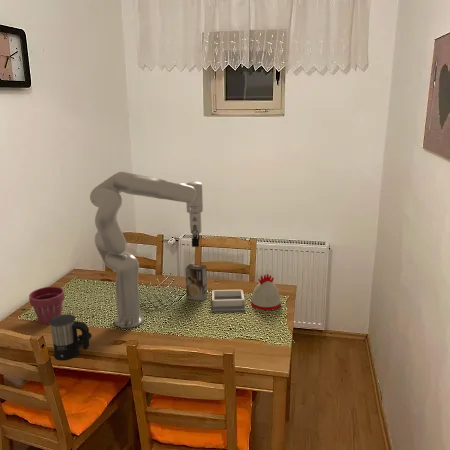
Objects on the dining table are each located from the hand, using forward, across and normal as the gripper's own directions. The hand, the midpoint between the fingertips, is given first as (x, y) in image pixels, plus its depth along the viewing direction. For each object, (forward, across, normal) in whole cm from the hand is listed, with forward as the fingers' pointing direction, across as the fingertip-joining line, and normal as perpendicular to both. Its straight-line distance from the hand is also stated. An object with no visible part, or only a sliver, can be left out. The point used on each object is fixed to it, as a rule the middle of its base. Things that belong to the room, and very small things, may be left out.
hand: (195, 243), depth 213 cm
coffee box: (+28, 0, 0) cm, 28 cm away
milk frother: (+28, -46, +47) cm, 71 cm away
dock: (+28, -7, -15) cm, 32 cm away
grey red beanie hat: (+28, -9, -33) cm, 44 cm away
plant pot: (+28, -20, +65) cm, 74 cm away
